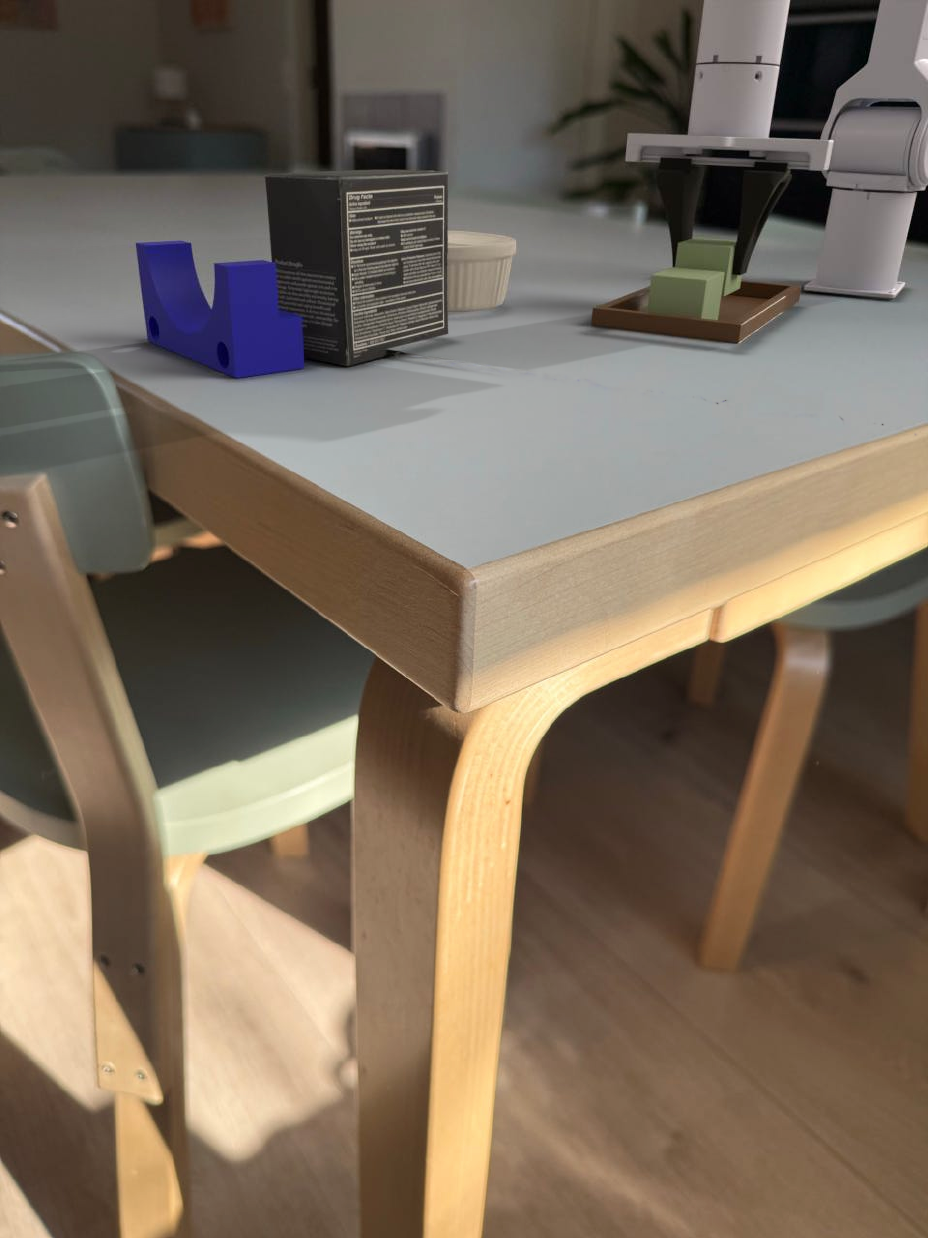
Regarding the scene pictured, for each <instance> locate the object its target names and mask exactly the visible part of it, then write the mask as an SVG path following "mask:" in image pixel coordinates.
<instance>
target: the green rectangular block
mask: <svg viewBox="0 0 928 1238" xmlns="http://www.w3.org/2000/svg"><path fill="white" fill-rule="evenodd" d="M724 274H725V272H719V271H708V270H697V269H686V268H676V267H670V268H667V269H664V270H661V271H658V272H656V273H652V274H650V275H651V276H650V282H649V283H650V284H649V286H650V291H649V300H648V308H647V312H650V313H659V314H668V315H677V316H685V317H694V318H703V319H712V320H718V315H719V308H720V301H721V295H722V288H723V281H724Z"/></svg>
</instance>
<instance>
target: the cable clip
mask: <svg viewBox="0 0 928 1238" xmlns="http://www.w3.org/2000/svg"><path fill="white" fill-rule="evenodd" d="M135 250H136V258H137V259H136V260H137V266H138V273H139V274H138V275H139V282H140V291H141V299H142V307H143V314H144V315H143V316H144V323H145V330H146V337H147V338H146V340H147V342H149V343H151V344H152V345H153V344H154V345H156V346H157V347H161V348H163V349H166V350H168V351H170V352H173V353H175V354H177V355H180V356H182V357H183V358H186V359H189V360H191V361H194V362H197V363H198V364H201V365H203V366H206V367H208V368H211V369H213V370H216V371H217V372H220V373H223V374H224V375H228V376H229V377H233V378H235V379H241V378H247V377H254V376H260V375H261V376H262V375H268V374H274V373H275V374H276V373H281V372H289V371H295V370H296V371H297V370H303V369H305V357H304V349H303V329H302V316H299V315H296V314H293V313H289V312H286V311H283V310H279V307H278V290H277V273H276V263H273V262H272V261H269V260H265V259H258V260H257V259H255V260H243V261H242V260H241V261H225V262H214V263H213V272H214V288H213V289H214V290H213V299H212V306H210V304H209V302H208V300H207V298H206V296H205V293H204V291H203V288H202V286H201V283H200V280H199V277H198V273H197V269H196V264H195V259H194V254H193V246H192V242H189V241H184V240H164V241H163V240H162V241H145V242H143V241H142V242H135Z"/></svg>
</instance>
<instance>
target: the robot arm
mask: <svg viewBox="0 0 928 1238" xmlns="http://www.w3.org/2000/svg"><path fill="white" fill-rule="evenodd" d="M790 2H791V0H703V6H702V15H701V23H700V30H699V39H698V46H697V54H696V63H695V64H696V65H695V72H694V79H693V88H692V96H691V102H690V103H691V105H690V113H689V119H688V120H689V121H688V129H687V134H668V133H641V132H640V133H637V132H628V133H627V139H626V150H625V160H624V161H625V162H631V163H659V165H658V169H654V171H653V174H654V175H653V176H654V182H655V184H656V188H657V189H658V192H659V195H660V199H661V201H662V206H663V209H664V212H665V216H666V221H667V226H668V231H669V237H670V238H669V239H670V246H671V247H670V248H671V260H672V262H671V263H672V267H675V264H676V256H677V248H678V243H679V242H683V241H686V240H689V239H693V237H694V236H693V235H694V234H693V233H694V224H695V216H696V213H697V212H696V211H697V205H698V200H699V196H700V191H701V187H702V182H703V179H704V174H705V170H706V166H723V167H724V166H725V167H747V168H748V167H749V168H753V169H748V170H747V169H746V170H744V171H743V175H742V189H741V190H742V193H741V207H740V217H739V227H738V233H737V237H736V240H737V241H736V246H735V251H734V259H733V269H732V275H742V276H743V275H745V274H746V273H747V272H748V268H749V265H750V261H751V258H752V255H753V253H754V250H755V247H756V245H757V242H758V240H759V238H760V235H761V233H762V231H763V229H764V227H765V225H766V222H767V221H768V219H769V217H770V215H771V213H772V212H773V210H774V208H775V206H776V205H777V203H778V202H779V200H780V198H781V197H782V195H783V193H784V192H785V190H786V189H787V187H788V185H789V184H790V182H791V180H792V178H793V174H791V170H808V171H815V172H816V171H819V172H821V173H822V175H823V178H825V179H826V184H825V185H826V187H833V188H832V191H831V198H830V202H829V207H828V213H827V218H826V223H825V228H824V234H823V239H822V245H821V249H820V255H819V260H818V264H817V270H816V276H815V278H814V279H813V280H810V281H809V282H808V283H806V284H804V286H803V290H804V291H808V292H815V293H827V294H829V293H830V294H837V295H838V294H839V295H847V296H849V295H850V296H858V297H859V296H860V297H869V298H877V299H878V298H879V299H888V300H889V299H892V300H893V299H895V298H896V297H897V296H898V295H899V293H900V292H901V291H902V290H903V289H904V287H905V285H906V282H904V281H898V278H899V273H900V269H901V264H902V259H903V256H904V251H905V246H906V242H907V239H908V238H907V237H908V233H909V229H910V226H911V225H910V224H911V220H912V216H913V212H914V207H915V203H916V198H917V195H918V192H917V191H925V190H926V187H927V186H928V0H880V1H879V7H878V11H877V16H876V22H875V26H874V31H873V36H872V40H871V46H870V51H869V56H868V61H867V63H866V64H865V65H864V67H862V68H861V69H860V70H858V72H856V73H855V74H854V75H853V76H851V77H850V78H849V79H848V80H846V81H845V82H844V83H843V84H842V85H840V86H839V87H838V88H837V89H836V92H835V96H834V99H833V103H832V107H831V109H830V113H829V116H828V119H827V121H826V123H825V124H824V127H823V129H822V132H821V135H820V139H812V138H811V139H810V138H785V137H784V138H783V137H781V138H780V137H770V131H771V123H772V118H773V111H774V105H775V99H776V92H777V87H778V79H779V75H780V69H781V68H780V66H781V59H782V54H783V49H784V48H783V47H784V41H785V35H786V29H787V22H788V15H789V9H790ZM878 102H916V103H917V104H918V105H919V106H871V105H873V104H874V103H878ZM703 150H723V151H725V150H726V151H731V150H732V151H749V153H748V156H749V157H753V158H737V157H736V158H735V157H734V158H733V157H715V156H713V157H712V156H710V157H709V156H687V155H702V154H703ZM754 157H755V158H754ZM756 158H757V159H756ZM758 158H759V159H758ZM760 158H764V159H760ZM672 267H671V268H672Z"/></svg>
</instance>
